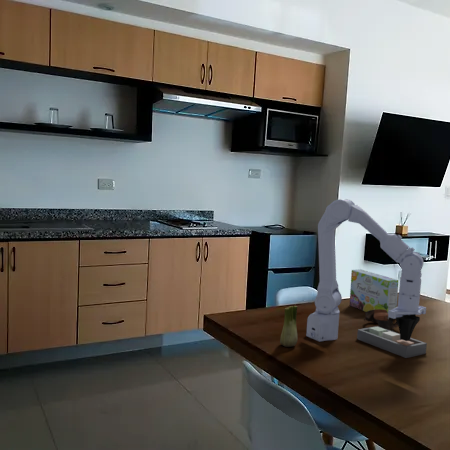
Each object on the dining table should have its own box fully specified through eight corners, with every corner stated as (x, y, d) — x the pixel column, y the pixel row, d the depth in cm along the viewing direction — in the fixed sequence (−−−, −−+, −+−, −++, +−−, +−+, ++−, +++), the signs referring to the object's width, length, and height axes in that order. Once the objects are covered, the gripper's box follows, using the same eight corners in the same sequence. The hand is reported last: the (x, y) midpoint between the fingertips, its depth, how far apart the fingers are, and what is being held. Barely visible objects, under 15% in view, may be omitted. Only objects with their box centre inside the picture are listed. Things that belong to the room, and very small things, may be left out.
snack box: (347, 305, 200) (350, 269, 198) (358, 305, 202) (361, 269, 201) (385, 320, 181) (388, 279, 179) (396, 319, 183) (400, 279, 182)
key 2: (405, 352, 141) (406, 344, 141) (395, 348, 144) (395, 340, 144) (413, 350, 143) (414, 342, 143) (403, 347, 146) (403, 339, 146)
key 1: (378, 338, 149) (378, 331, 149) (368, 335, 152) (369, 327, 152) (385, 337, 151) (386, 329, 151) (376, 334, 154) (377, 326, 154)
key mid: (391, 343, 145) (392, 336, 145) (381, 340, 148) (382, 332, 148) (399, 342, 147) (400, 334, 147) (389, 338, 150) (390, 331, 150)
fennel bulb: (293, 342, 149) (295, 303, 148) (301, 348, 144) (304, 308, 143) (276, 343, 147) (278, 304, 146) (283, 349, 142) (286, 308, 141)
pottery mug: (364, 333, 164) (361, 309, 167) (368, 339, 172) (365, 316, 175) (402, 330, 160) (397, 305, 163) (404, 336, 168) (400, 312, 171)
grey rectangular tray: (405, 361, 138) (406, 347, 137) (356, 342, 153) (357, 329, 152) (425, 356, 142) (426, 343, 142) (376, 338, 158) (377, 326, 157)
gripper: (404, 299, 135) (400, 347, 136) (436, 295, 142) (432, 340, 144) (384, 293, 140) (379, 339, 142) (415, 290, 148) (411, 333, 150)
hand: (405, 339), depth 143 cm, fingers closed
